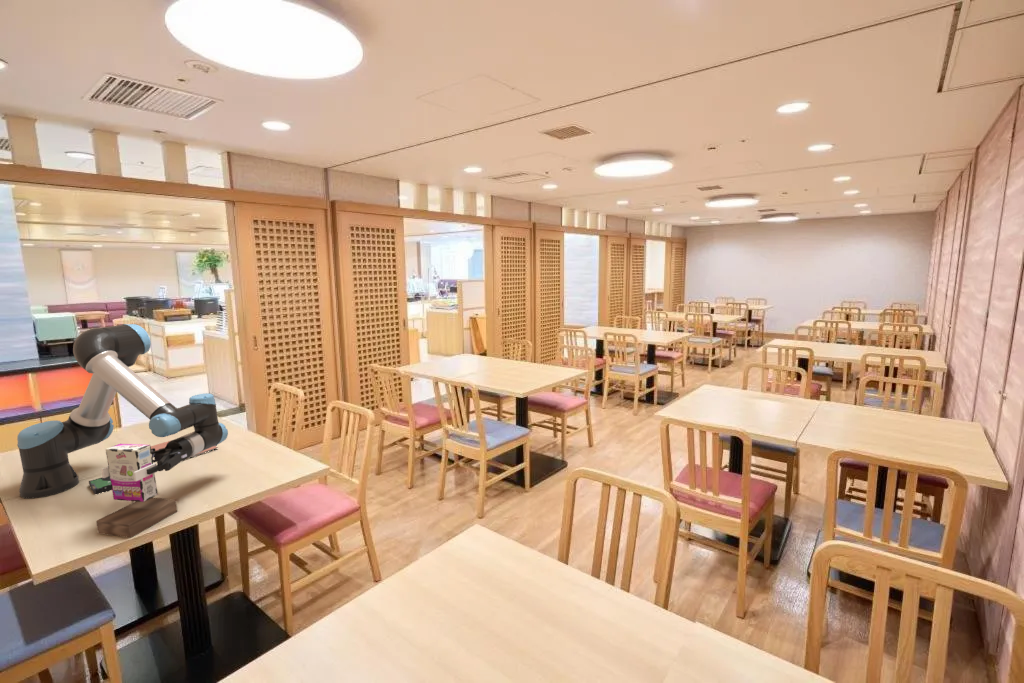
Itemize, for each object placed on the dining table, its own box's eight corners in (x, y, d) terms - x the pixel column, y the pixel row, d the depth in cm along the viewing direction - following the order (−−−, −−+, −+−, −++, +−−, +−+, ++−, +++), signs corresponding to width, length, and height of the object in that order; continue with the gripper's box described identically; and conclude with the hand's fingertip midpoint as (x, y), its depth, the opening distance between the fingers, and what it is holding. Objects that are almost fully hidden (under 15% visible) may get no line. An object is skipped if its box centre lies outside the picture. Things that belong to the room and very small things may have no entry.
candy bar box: (159, 494, 145) (151, 444, 142) (144, 502, 140) (136, 450, 137) (128, 492, 147) (120, 442, 144) (112, 500, 142) (104, 448, 139)
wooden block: (98, 533, 139) (96, 520, 138) (147, 507, 153) (145, 496, 153) (130, 537, 136) (128, 525, 136) (177, 511, 151) (175, 500, 150)
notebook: (221, 450, 203) (220, 445, 203) (177, 464, 189) (177, 459, 189) (188, 439, 217) (188, 434, 217) (146, 451, 203) (145, 447, 202)
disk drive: (139, 474, 181) (89, 487, 169) (138, 467, 180) (87, 480, 169) (147, 481, 174) (95, 496, 163) (147, 474, 174) (94, 488, 162)
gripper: (214, 460, 157) (152, 490, 136) (157, 455, 162) (89, 483, 141) (212, 438, 156) (149, 466, 135) (154, 434, 161) (85, 460, 140)
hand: (118, 475), depth 138 cm, fingers closed on candy bar box, 11 cm apart
